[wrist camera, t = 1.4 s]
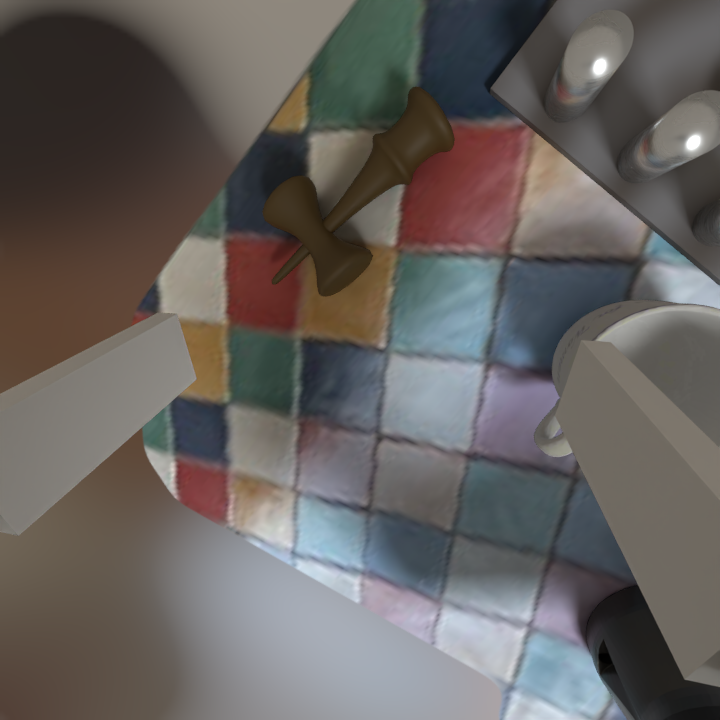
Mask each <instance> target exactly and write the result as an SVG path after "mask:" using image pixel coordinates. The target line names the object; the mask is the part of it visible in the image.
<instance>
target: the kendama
mask: <svg viewBox="0 0 720 720" xmlns="http://www.w3.org/2000/svg"><path fill="white" fill-rule="evenodd" d="M454 140H455V139H454V135H453V131H452V128H451V125H450V123H449V122H448V120H447V118H446V116H445V114H444V112H443V110H442V109H441V108H440V106H439V105H438V103H437V102H436V101H435V100H434V98H433V97H432V96H431V95H430V94H429V93H427V92H426V91H424V90H423V89H422V88H420V87H413V88H412V89H411V90H410V91H409V94H408V104H407V108H406V110H405V112H404V114H403V115H402V117H401V118H400V119H399V121H398V122H397V123H396V124H395V125H394V126H393V127H392V128H391V129H390V130H388V131H387V132H385V133H380V134H375V135H374V136H373V148H372V152H371V154H370V156H369V158H368V160H367V162H366V164H365V165H364V167H363V168H362V170H361V171H360V173H359V174H358V176H357V177H356V179H355V180H354V181H353V183H352V184H351V186H350V187H349V188H348V190H347V191H346V192H345V194H344V195H343V196H342V198H341V199H340V200H339V202H338V203H337V204H336V206H335V207H334V208H333V209H332V211H331V212H330V213H329V214H328V216H327V217H326V218H325V219H324V220H323V218H322V216H321V213H320V210H319V205H318V199H317V193H316V188H315V186H314V184H313V182H312V181H311V180H310V179H309V178H308V177H305V176H302V175H300V176H294V177H291V178H289V179H288V180H286V181H284V182H283V183H281V184H280V185H279V186H278V187H277V188H276V189H275V190H274V191H273V192H272V193H271V195H270V196H269V198H268V199H267V201H266V202H265V205H264V208H263V211H262V212H263V216H264V219H265V221H266V222H268V223H269V224H271V225H272V226H274V227H276V228H278V229H281V230H283V231H286V232H288V233H290V234H293V235H294V236H296V237H297V238H298V239H299V240H300V241H301V242H302V244H303V245H302V246H301V247H300V248H299V249H298V250H297V251H296V253H295V254H294V255H293V256H292V257H291V258H290V259H289V260H288V261H287V263H286V264H285V265H284V266H283V267H282V268H281V269H280V271H279V272H278V273H277V274H276V275H275V277H274V278H273V280H272V284H277V283H278V282H280V281H281V280H282V279H283V278H284V277H285V276H287V275H288V274H289V273H290V272H291V271H292V270H293V269H294V268H295V267H296V266H297V265H298V264H299V263H300V262H301V261H303V260H304V259H305V258H306V257H307V256H308V255H309V254H311V255H312V257H313V260H314V263H315V267H316V276H317V287H318V292H319V294H320V295H321V296H330V295H333V294H335V293H337V292H339V291H341V290H342V289H343V288H345V287H346V286H348V285H349V284H350V283H352V282H353V281H354V280H355V279H356V278H357V277H358V276H359V275H360V274H361V273H362V272H363V271H364V270H365V269H366V268H367V266H368V265H369V264H370V262H371V260H372V257H373V255H372V253H371V252H370V250H368V249H366V248H363V247H359V246H356V245H353V244H349V243H346V242H344V241H342V240H340V239H338V238H337V237H336V236H335V235H334V234H333V232H334V231H335V230H336V229H337V228H339V227H340V226H341V225H342V224H343V223H345V222H346V221H347V220H348V219H349V218H351V217H352V216H353V215H354V214H356V213H357V212H358V211H359V210H361V209H362V208H363V207H365V206H366V205H367V204H368V203H370V202H371V201H372V200H374V199H375V198H376V197H378V196H379V195H381V194H382V193H384V192H385V191H387V190H388V189H390V188H392V187H394V186H396V185H399V184H406V185H409V184H410V183H411V181H412V177H413V174H414V172H415V170H416V169H417V168H418V167H419V166H420V165H421V164H422V163H423V162H424V161H425V160H426V159H428V158H429V157H430V156H432V155H434V154H435V153H438V152H447V151H450V150H451V149H452V148H453V145H454Z"/></svg>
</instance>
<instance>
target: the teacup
mask: <svg viewBox="0 0 720 720" xmlns="http://www.w3.org/2000/svg"><path fill="white" fill-rule="evenodd" d="M581 340H586V341H601V342H611V343H612V344H613V345H614V346H615V347H616V348H617V349H618V350H619V351H620V352H621V353H622V354H623V355H624V356H626V357H627V358H628V359H629V360H630V361H631V362H632V363H633V364H634V365H635V366H636V367H637V368H638V369H639V370H640V371H641V372H642V373H643V374H644V375H645V376H646V377H647V378H648V379H649V380H650V381H651V382H652V383H653V384H654V385H655V386H656V387H657V388H658V389H659V390H660V391H661V392H663V393H664V394H665V395H666V396H667V397H668V398H669V399H670V400H671V401H672V402H673V403H674V404H675V405H676V406H677V407H678V408H679V409H680V410H681V411H682V412H683V413H684V414H685V415H686V416H687V417H688V418H689V419H690V420H691V421H692V422H693V423H694V424H695V425H696V426H697V427H698V428H700V429H701V430H702V431H703V432H704V433H705V434H706V435H707V436H708V437H709V438H710V439H711V440H712V441H713V442H714V443H715V444H716V445H717V446H718V447H719V448H720V309H717V308H714V307H710V306H704V305H697V304H679V303H673V302H665V301H656V300H630V301H623V302H617V303H613V304H609V305H606V306H604V307H601V308H598V309H596V310H594V311H592V312H590V313H588V314H587V315H585V316H584V317H582V318H581V319H579V320H578V321H577V322H575V323H574V324H573V325H572V326H571V327H570V328H569V329H568V330H567V332H566V333H565V334H564V335H563V337H562V338H561V340H560V342H559V343H558V345H557V348H556V350H555V353H554V356H553V362H552V377H553V382H554V385H555V388H556V391H557V393H558V395H559V397H560V399H558V401H557V403H556V405H555V406H554V407H553V408H552V410H551V411H550V412H549V413H548V414H547V415H546V416H545V417H544V419H543V420H542V421H541V422H540V423H539V425H538V427H537V428H536V431H535V433H534V440H535V443H536V445H537V446H538V448H539V449H541V450H542V451H543V452H544V453H545V454H547V455H549V456H552V457H563V456H566V455H569V454H571V453H572V450H571V447H570V445H569V443H568V441H567V439H566V437H565V435H564V433H563V432H562V433H561V434H560V435H558V436H557V437H554V435H555V434H556V433H557V431H558V430H559V429H560V428H561V427H560V425H559V423H558V421H557V419H556V417H555V414H556V411H557V408H558V405H559V402H560V400H561V397H562V394H563V391H564V388H565V385H566V382H567V379H568V377H569V374H570V371H571V368H572V365H573V362H574V359H575V356H576V354H577V351H578V348H579V345H580V342H581ZM553 437H554V438H553Z"/></svg>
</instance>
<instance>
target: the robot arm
mask: <svg viewBox="0 0 720 720" xmlns="http://www.w3.org/2000/svg"><path fill="white" fill-rule="evenodd" d="M196 379H197V378H196V375H195V371H194V368H193V365H192V362H191V358H190V355H189V352H188V348H187V345H186V342H185V339H184V335H183V332H182V329H181V326H180V322H179V319H178V316H177V314H170V313H157V314H155V315H153V316H151V317H149V318H147V319H145V320H143V321H141V322H139V323H137V324H135V325H133V326H131V327H129V328H127V329H126V330H124V331H122V332H120V333H118V334H116V335H114V336H112V337H110V338H108V339H106V340H104V341H102V342H100V343H98V344H96V345H95V346H93V347H91V348H89V349H87V350H85V351H83V352H81V353H79V354H77V355H75V356H73V357H71V358H69V359H67V360H65V361H63V362H61V363H59V364H58V365H56V366H54V367H52V368H50V369H48V370H46V371H44V372H42V373H40V374H38V375H36V376H34V377H33V378H30V379H28V380H26V381H24V382H23V383H21V384H19V385H17V386H15V387H13V388H11V389H9V390H7V391H5V392H3V393H1V394H0V532H4V533H8V534H13V535H17V536H18V535H20V534H21V533H22V532H23V531H24V530H25V529H27V528H28V527H29V526H30V525H31V524H32V523H33V522H34V521H36V520H37V519H38V518H39V517H40V516H41V515H42V514H44V513H45V512H46V511H47V510H48V509H49V508H50V507H52V506H53V505H54V504H55V503H56V502H57V501H58V500H60V499H61V498H62V497H63V496H64V495H65V494H67V493H68V492H69V491H70V490H71V489H72V488H73V487H74V486H76V485H77V484H78V483H79V482H80V481H81V480H82V479H83V478H85V477H86V476H87V475H88V474H89V473H90V472H92V470H94V469H95V468H96V467H97V466H98V465H100V464H101V463H102V462H103V461H104V460H105V459H106V458H108V457H109V456H110V455H111V454H112V453H113V452H114V451H115V450H117V449H118V448H119V447H120V446H121V445H122V444H123V443H125V442H126V441H127V440H128V439H129V438H130V437H131V436H133V435H134V434H135V433H136V432H137V431H138V430H139V429H141V428H142V427H143V426H144V425H145V424H146V423H147V422H149V421H150V420H151V419H152V418H153V417H154V416H155V415H157V414H158V413H159V412H160V411H161V410H162V409H163V408H164V407H166V406H167V405H168V404H169V403H170V402H171V401H172V400H174V399H175V398H176V397H177V396H178V395H179V394H180V393H182V392H183V391H184V390H185V389H186V388H187V387H188V386H190V385H191V384H192V383H193V382H194V381H195V380H196ZM555 417H556V419H557V421H558V423H559V425H560V427H561V429H562V431H563V433H564V435H565V437H566V439H567V441H568V443H569V445H570V447H571V450H572V452H573V454H574V456H575V458H576V460H577V462H578V464H579V466H580V468H581V470H582V472H583V474H584V476H585V478H586V480H587V482H588V484H589V486H590V488H591V490H592V492H593V494H594V496H595V498H596V500H597V502H598V504H599V507H600V509H601V511H602V513H603V515H604V517H605V519H606V521H607V523H608V525H609V527H610V529H611V531H612V533H613V535H614V537H615V539H616V541H617V543H618V545H619V547H620V549H621V551H622V553H623V555H624V557H625V559H626V561H627V563H628V566H629V568H630V570H631V572H632V574H633V576H634V578H635V580H636V582H637V584H638V586H635V587H631V588H627V589H625V590H622V591H619V592H617V593H615V594H613V595H611V596H610V597H608V598H606V599H605V600H604V601H603V602H601V603H600V604H599V605H598V606H597V607H596V608H595V610H594V611H593V613H592V614H591V616H590V618H589V621H588V624H587V630H586V637H587V643H588V647H589V650H590V653H591V656H592V659H593V662H594V665H595V668H596V670H597V672H598V674H599V676H600V678H601V680H602V682H603V683H604V685H605V686H606V688H607V689H608V691H609V692H610V694H611V696H612V697H613V699H614V700H615V702H616V703H617V705H618V706H619V708H620V709H621V711H622V712H623V714H624V715H625V717H626V718H627V720H720V448H719V447H718V446H717V445H716V444H715V443H714V442H713V441H712V440H711V439H710V438H709V437H708V436H707V435H706V434H705V433H704V432H703V431H702V430H701V429H700V428H698V427H697V426H696V425H695V424H694V423H693V422H692V421H691V420H690V419H689V418H688V417H687V416H686V415H685V414H684V413H683V412H682V411H681V410H680V409H679V408H678V407H677V406H676V405H675V404H674V403H673V402H672V401H671V400H670V399H669V398H668V397H667V396H666V395H665V394H664V393H663V392H661V391H660V390H659V389H658V388H657V387H656V386H655V385H654V384H653V383H652V382H651V381H650V380H649V379H648V378H647V377H646V376H645V375H644V374H643V373H642V372H641V371H640V370H639V369H638V368H637V367H636V366H635V365H634V364H633V363H632V362H631V361H630V360H629V359H628V358H627V357H626V356H624V355H623V354H622V353H621V352H620V351H619V350H618V349H617V348H616V347H615V346H614V345H613V344H612V343H611V342H601V341H586V340H581V342H580V345H579V348H578V351H577V354H576V356H575V359H574V362H573V365H572V368H571V371H570V374H569V377H568V379H567V382H566V385H565V388H564V391H563V394H562V397H561V400H560V402H559V405H558V408H557V411H556V414H555Z"/></svg>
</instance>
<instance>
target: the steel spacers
mask: <svg viewBox="0 0 720 720" xmlns="http://www.w3.org/2000/svg"><path fill="white" fill-rule="evenodd" d="M633 37H634V30H633V25H632V23H631V20H630V19H629V18H628V16H627V15H625V14H624V13H623V12H620V11H617V10H603V11H600V12H597V13H595V14H593V15H591V16H590V17H588V18H587V19H586V20H584V21H583V22H582V23H581V24H580V25H579V26H578V28H577V29H576V30H575V32H574V34H573V35H572V37H571V39H570V42H569V44H568V46H567V48H566V50H565V52H564V55H563V57H562V59H561V61H560V63H559V65H558V68H557V70H556V72H555V74H554V76H553V79H552V81H551V83H550V85H549V87H548V89H547V92H546V94H545V98H544V109H545V112H546V114H547V116H548V117H549V118H550V119H552V120H553V121H555V122H560V123H565V122H570V121H572V120H575V119H576V118H578V117H579V116H581V115H582V114H583V113H584V112H585V111H586V110H587V108H588V107H589V106H590V104H591V103H592V102H593V100H594V99H595V98H596V97H597V95H598V94H599V93H600V91H601V90H602V89H603V87H604V86H605V85H606V83H607V82H608V81H609V79H610V78H611V77H612V75H613V74H614V73H615V71H616V70H617V69H618V67H619V66H620V65H621V63H622V62H623V61H624V59H625V58H626V56H627V55H628V53H629V51H630V49H631V46H632V43H633ZM719 144H720V92H719V91H715V90H705V91H700V92H697V93H694V94H692V95H690V96H688V97H686V98H684V99H683V100H681V101H680V102H679V103H678V104H676V105H675V106H674V107H673V108H671V109H670V110H669V111H667V112H666V113H665V114H664V115H662V116H661V117H660V118H659V119H657V120H656V121H655V122H654V123H652V124H651V125H650V126H648V127H647V128H646V129H645V130H643V131H642V132H641V133H640V134H638V135H637V136H636V137H634V138H633V139H632V140H631V141H629V142H628V143H627V144H626V145H625V146H624V147H623V149H622V150H621V152H620V154H619V156H618V159H617V170H618V173H619V175H620V176H621V177H622V178H623V179H624V180H625V181H627V182H630V183H644V182H647V181H650V180H652V179H654V178H656V177H658V176H660V175H662V174H664V173H666V172H668V171H670V170H672V169H674V168H676V167H678V166H680V165H682V164H685V163H687V162H689V161H691V160H693V159H695V158H697V157H699V156H701V155H703V154H705V153H707V152H709V151H711V150H712V149H714V148H715V147H717V146H718V145H719ZM692 232H693V235H694V237H695V238H696V240H697V241H699V242H700V243H702V244H704V245H707V246H720V199H717V200H715V201H712V202H710V203H709V204H707V205H705V206H704V207H703V208H702V209H701V210H700V211H699V212H698V213H697V215H696V216H695V218H694V221H693V224H692Z"/></svg>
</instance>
